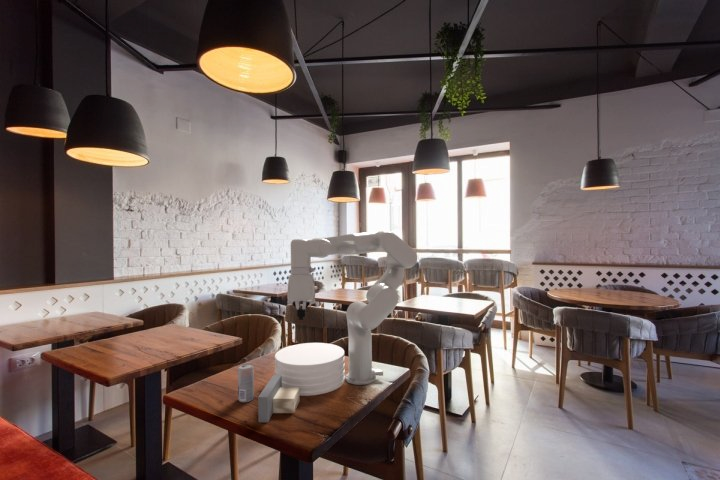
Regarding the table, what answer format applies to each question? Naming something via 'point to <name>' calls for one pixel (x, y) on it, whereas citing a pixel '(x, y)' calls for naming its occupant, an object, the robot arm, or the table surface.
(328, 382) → the plate stack
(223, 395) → the table surface
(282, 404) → the cream block
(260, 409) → the gray board
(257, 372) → the table surface
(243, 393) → the energy drink
